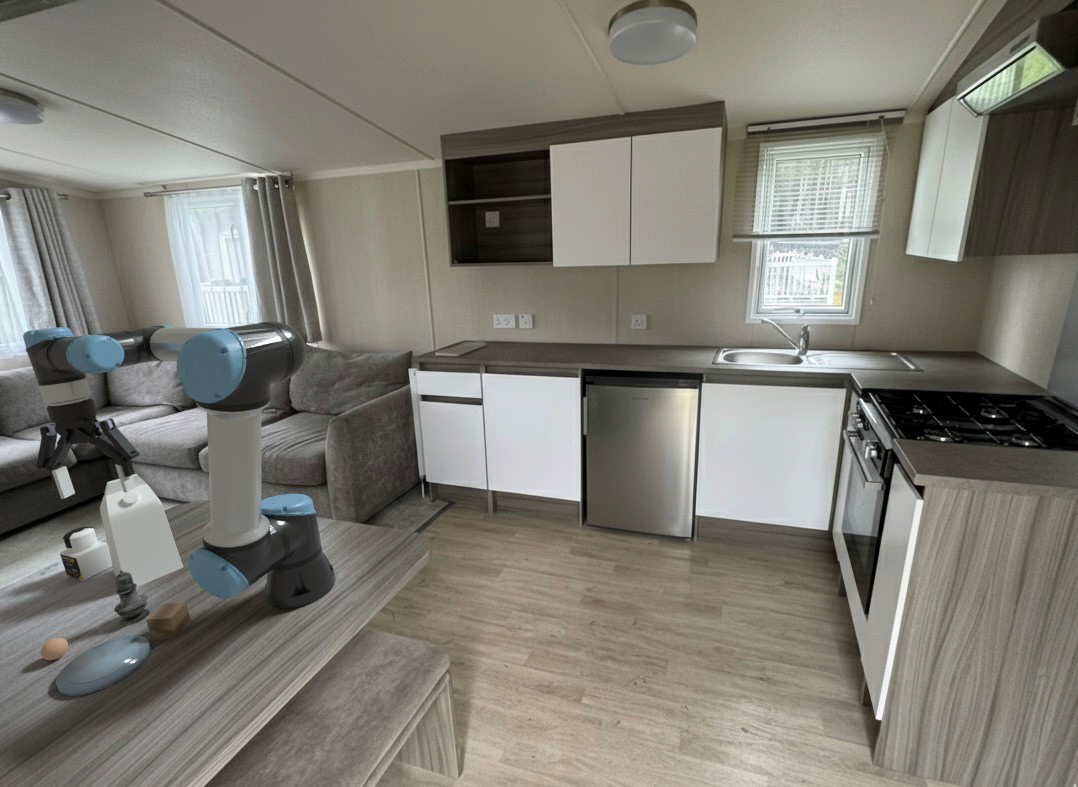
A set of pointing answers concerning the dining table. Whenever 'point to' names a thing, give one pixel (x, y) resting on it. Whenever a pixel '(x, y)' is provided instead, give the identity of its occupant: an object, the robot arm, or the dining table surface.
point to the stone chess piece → (129, 600)
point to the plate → (103, 665)
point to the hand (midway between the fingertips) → (99, 493)
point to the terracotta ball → (54, 648)
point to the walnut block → (168, 621)
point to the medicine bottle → (84, 554)
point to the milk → (138, 532)
